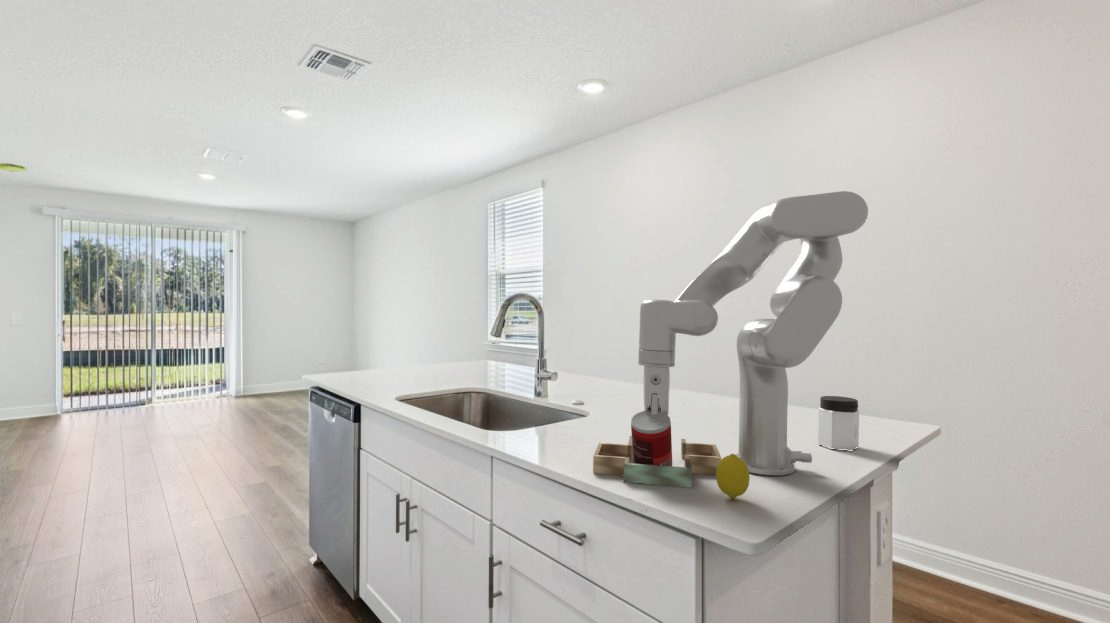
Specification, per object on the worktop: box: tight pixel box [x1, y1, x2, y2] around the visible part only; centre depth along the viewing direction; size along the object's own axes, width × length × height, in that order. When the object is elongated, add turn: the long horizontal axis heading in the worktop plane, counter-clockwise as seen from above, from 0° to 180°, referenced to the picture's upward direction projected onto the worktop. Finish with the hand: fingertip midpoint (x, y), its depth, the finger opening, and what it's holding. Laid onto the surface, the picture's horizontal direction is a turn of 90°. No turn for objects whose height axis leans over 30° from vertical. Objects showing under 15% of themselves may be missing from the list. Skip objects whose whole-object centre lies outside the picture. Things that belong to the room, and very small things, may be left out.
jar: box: [817, 395, 860, 451], centre depth 126 cm, size 9×8×12 cm
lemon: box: [715, 453, 750, 500], centre depth 90 cm, size 6×6×8 cm
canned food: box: [630, 410, 673, 466], centre depth 101 cm, size 8×8×11 cm
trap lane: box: [592, 435, 722, 489], centre depth 108 cm, size 25×23×4 cm
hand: (653, 445), depth 107 cm, fingers closed
